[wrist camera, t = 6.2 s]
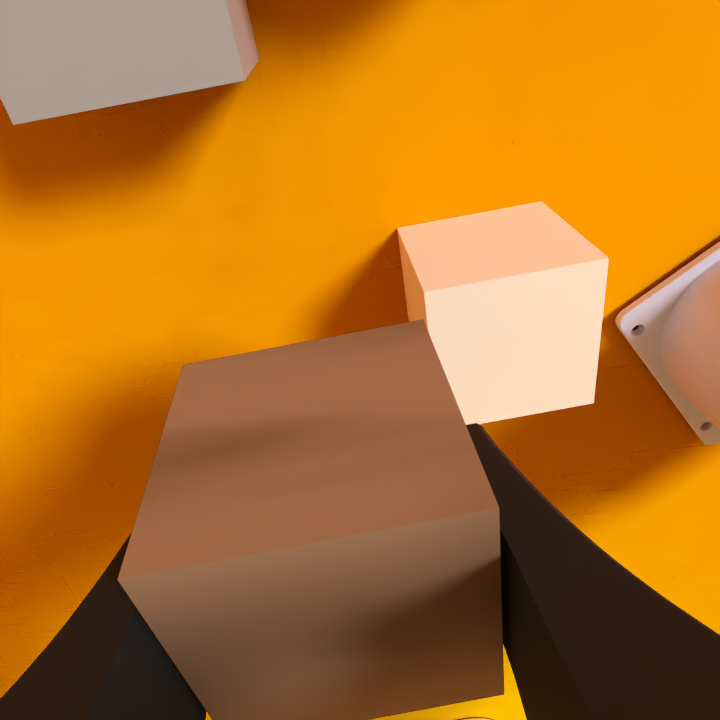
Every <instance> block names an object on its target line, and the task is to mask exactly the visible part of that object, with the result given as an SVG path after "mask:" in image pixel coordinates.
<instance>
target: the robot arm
mask: <svg viewBox="0 0 720 720" xmlns="http://www.w3.org/2000/svg"><path fill="white" fill-rule="evenodd" d="M615 324H616V326H617V328H618V329H619V330H620V332H621V333H622V334H623V336H624V337H625V338H626V340H627V341H628V342H629V344H630V345H631V346H632V348H633V349H634V351H635V352H636V353H637V355H638V356H639V357H640V359H641V360H642V361H643V363H644V364H645V365H646V367H647V368H648V370H649V371H650V372H651V374H652V375H653V376H654V378H655V379H656V380H657V382H658V383H659V384H660V386H661V387H662V388H663V390H664V391H665V393H666V394H667V395H668V397H669V398H670V399H671V401H672V402H673V403H674V405H675V406H676V407H677V409H678V410H679V412H680V413H681V414H682V416H683V417H684V418H685V420H686V421H687V422H688V424H689V425H690V426H691V428H692V429H693V430H694V432H695V433H696V435H697V436H698V437H699V439H700V440H701V441H702V442H703V443H704V444H705V445H715V444H717V443H719V442H720V241H719V242H718V243H717V244H715V245H714V246H712V247H711V248H709V249H708V250H707V251H705V252H704V253H702V254H701V255H699V256H698V257H697V258H695V259H694V260H692V261H691V262H690V263H688V264H687V265H685V266H684V267H682V268H681V269H680V270H678V271H677V272H675V273H674V274H673V275H671V276H670V277H668V278H667V279H665V280H664V281H663V282H661V283H660V284H658V285H657V286H655V287H654V288H653V289H651V290H650V291H648V292H647V293H646V294H644V295H643V296H641V297H640V298H638V299H637V300H636V301H634V302H633V303H631V304H630V305H629V306H627V307H626V308H624V309H623V310H622V311H621V312H619V313H618V315H617V317H616V319H615ZM637 325H639V327H638V328H637V329H636V330H634V331H632V329H633V328H634V327H635V326H637ZM466 427H467V429H468V432H469V434H470V436H471V439H472V441H473V444H474V446H475V449H476V451H477V454H478V456H479V459H480V461H481V464H482V466H483V469H484V471H485V474H486V476H487V479H488V481H489V484H490V486H491V489H492V491H493V494H494V496H495V498H496V501H497V503H498V506H499V518H500V556H501V594H502V633H503V645H504V647H505V650H506V653H507V656H508V659H509V661H510V664H511V667H512V670H513V673H514V676H515V680H516V683H517V687H518V690H519V694H520V697H521V701H522V704H523V708H524V711H525V715H526V718H527V720H720V635H719V634H717V633H716V632H714V631H713V630H712V629H710V628H709V627H707V626H706V625H704V624H703V623H701V622H700V621H698V620H697V619H695V618H694V617H692V616H691V615H689V614H688V613H686V612H685V611H683V610H682V609H680V608H679V607H677V606H676V605H674V604H673V603H672V602H670V601H669V600H667V599H666V598H664V597H663V596H661V595H660V594H659V593H657V592H656V591H655V590H653V589H652V588H651V587H649V586H648V585H647V584H645V583H644V582H643V581H641V580H640V579H639V578H637V577H636V576H635V575H633V574H632V573H631V572H630V571H628V570H627V569H626V568H624V567H623V566H622V565H621V564H619V563H618V562H617V561H616V560H614V559H613V558H612V557H611V556H609V555H608V554H607V553H606V552H605V551H603V550H602V549H601V548H600V547H599V546H597V545H596V544H595V543H594V542H593V541H592V540H590V539H589V538H588V537H587V536H586V535H585V534H584V533H582V532H581V531H580V530H579V529H578V528H577V527H576V526H575V525H574V524H572V523H571V522H570V521H569V520H568V519H567V518H566V517H565V516H564V515H563V514H562V513H561V512H559V511H558V510H557V509H556V508H555V507H554V506H553V505H552V504H551V503H550V502H549V501H548V500H547V499H546V498H545V497H544V496H543V495H542V494H541V493H540V492H539V491H538V490H537V489H536V488H535V487H534V486H533V485H532V484H531V483H530V482H529V481H528V480H527V479H526V478H525V476H524V475H523V474H522V473H521V472H520V471H519V470H518V469H517V468H516V467H515V466H514V464H513V463H512V462H511V461H510V460H509V459H508V458H507V457H506V455H505V454H504V453H503V452H502V451H501V450H500V448H499V447H498V446H497V445H496V444H495V442H494V441H493V440H492V439H491V437H490V436H489V435H488V434H487V432H486V431H485V430H484V428H483V427H482V426H481V425H479V424H477V423H473V424H468V425H466ZM131 534H132V533H131ZM131 534H130V535H129V537H128V538H127V540H126V541H125V543H124V544H123V546H122V547H121V549H120V550H119V551H118V553H117V554H116V556H115V557H114V559H113V560H112V562H111V563H110V564H109V566H108V567H107V569H106V570H105V572H104V573H103V574H102V576H101V577H100V579H99V580H98V581H97V583H96V584H95V585H94V587H93V588H92V589H91V591H90V592H89V593H88V595H87V596H86V597H85V599H84V600H83V601H82V603H81V604H80V605H79V607H78V608H77V609H76V611H75V612H74V613H73V614H72V616H71V617H70V618H69V620H68V621H67V622H66V624H65V625H64V626H63V627H62V629H61V630H60V631H59V632H58V634H57V635H56V636H55V637H54V639H53V640H52V641H51V642H50V643H49V645H48V646H47V647H46V648H45V649H44V651H43V652H42V653H41V654H40V655H39V656H38V658H37V659H36V660H35V661H34V662H33V663H32V664H31V666H30V667H29V668H28V669H27V670H26V671H25V672H24V674H23V675H22V676H21V677H20V678H19V679H18V680H17V682H16V683H15V684H14V685H13V686H12V687H11V688H10V689H9V690H8V691H7V692H6V694H5V695H4V696H3V697H2V698H1V699H0V720H205V718H206V709H205V708H204V707H203V705H202V704H201V702H200V701H199V699H198V698H197V696H196V695H195V693H194V692H193V690H192V689H191V687H190V686H189V684H188V683H187V681H186V680H185V679H184V677H183V676H182V674H181V673H180V671H179V670H178V668H177V667H176V665H175V664H174V662H173V661H172V659H171V658H170V656H169V655H168V653H167V652H166V651H165V649H164V648H163V646H162V645H161V643H160V642H159V640H158V639H157V637H156V636H155V634H154V633H153V631H152V630H151V628H150V627H149V625H148V624H147V623H146V621H145V620H144V618H143V617H142V615H141V614H140V612H139V611H138V609H137V608H136V606H135V605H134V603H133V602H132V600H131V599H130V597H129V596H128V595H127V593H126V592H125V590H124V589H123V587H122V586H121V584H120V583H119V581H118V580H117V579H118V576H119V573H120V570H121V566H122V563H123V560H124V556H125V553H126V550H127V547H128V543H129V540H130V537H131Z"/></svg>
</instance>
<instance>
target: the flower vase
mask: <svg viewBox="0 0 720 720" xmlns="http://www.w3.org/2000/svg"><path fill="white" fill-rule="evenodd" d="M462 720H492V719H486V718H470V719H462Z"/></svg>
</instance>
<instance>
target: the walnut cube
mask: <svg viewBox="0 0 720 720" xmlns="http://www.w3.org/2000/svg"><path fill="white" fill-rule="evenodd" d="M117 580H118V581H119V583H120V584H121V586H122V587H123V589H124V590H125V592H126V593H127V595H128V596H129V597H130V599H131V600H132V602H133V603H134V605H135V606H136V608H137V609H138V611H139V612H140V614H141V615H142V617H143V618H144V620H145V621H146V623H147V624H148V625H149V627H150V628H151V630H152V631H153V633H154V634H155V636H156V637H157V639H158V640H159V642H160V643H161V645H162V646H163V648H164V649H165V651H166V652H167V653H168V655H169V656H170V658H171V659H172V661H173V662H174V664H175V665H176V667H177V668H178V670H179V671H180V673H181V674H182V676H183V677H184V679H185V680H186V681H187V683H188V684H189V686H190V687H191V689H192V690H193V692H194V693H195V695H196V696H197V698H198V699H199V701H200V702H201V704H202V705H203V707H204V708H205V709H206V711H207V712H208V714H209V715H210V717H211V718H212V720H369V719H374V718H380V717H385V716H390V715H396V714H401V713H407V712H412V711H417V710H423V709H428V708H433V707H439V706H444V705H449V704H455V703H460V702H465V701H471V700H476V699H482V698H487V697H492V696H498V695H503V694H504V671H503V633H502V594H501V556H500V518H499V506H498V503H497V501H496V498H495V496H494V494H493V491H492V489H491V486H490V484H489V481H488V479H487V476H486V474H485V471H484V469H483V466H482V464H481V461H480V459H479V456H478V454H477V451H476V449H475V446H474V444H473V441H472V439H471V436H470V434H469V432H468V429H467V427H466V424H465V422H464V419H463V417H462V414H461V412H460V409H459V407H458V404H457V402H456V399H455V397H454V394H453V392H452V389H451V387H450V384H449V382H448V379H447V377H446V375H445V372H444V370H443V367H442V365H441V362H440V360H439V357H438V355H437V352H436V350H435V347H434V345H433V342H432V340H431V337H430V335H429V332H428V330H427V327H426V325H425V322H424V320H423V319H422V320H417V321H411V322H406V323H401V324H396V325H390V326H385V327H380V328H374V329H369V330H364V331H359V332H353V333H348V334H343V335H338V336H332V337H327V338H322V339H317V340H311V341H306V342H301V343H296V344H290V345H285V346H280V347H275V348H269V349H264V350H259V351H254V352H248V353H243V354H238V355H233V356H227V357H222V358H217V359H212V360H206V361H201V362H196V363H191V364H185V365H183V367H182V370H181V373H180V377H179V380H178V383H177V386H176V390H175V393H174V396H173V400H172V403H171V406H170V409H169V413H168V416H167V419H166V422H165V426H164V429H163V432H162V435H161V439H160V442H159V445H158V449H157V452H156V455H155V458H154V462H153V465H152V468H151V471H150V475H149V478H148V481H147V485H146V488H145V491H144V494H143V498H142V501H141V504H140V507H139V511H138V514H137V517H136V520H135V524H134V527H133V530H132V534H131V537H130V540H129V543H128V547H127V550H126V553H125V556H124V560H123V563H122V566H121V570H120V573H119V576H118V579H117Z"/></svg>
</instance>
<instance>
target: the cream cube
mask: <svg viewBox="0 0 720 720" xmlns="http://www.w3.org/2000/svg"><path fill="white" fill-rule="evenodd" d="M397 232H398V240H399V248H400V256H401V264H402V272H403V280H404V288H405V296H406V304H407V312H408V320H409V322H411V321H417V320H422V319H423V320H424V322H425V325H426V327H427V330H428V332H429V335H430V337H431V340H432V342H433V345H434V347H435V350H436V352H437V355H438V357H439V360H440V362H441V365H442V367H443V370H444V372H445V375H446V377H447V379H448V382H449V384H450V387H451V389H452V392H453V394H454V397H455V399H456V402H457V404H458V407H459V409H460V412H461V414H462V417H463V419H464V422H465V424H466V425H468V424H473V423H477V424H482V423H488V422H493V421H499V420H504V419H510V418H515V417H521V416H526V415H532V414H537V413H543V412H548V411H554V410H559V409H565V408H570V407H576V406H582V405H587V404H593V403H594V396H595V387H596V377H597V368H598V358H599V348H600V339H601V329H602V320H603V310H604V301H605V291H606V281H607V272H608V262H609V258H608V257H607V256H606V255H605V254H603V253H602V252H601V251H600V250H599V249H597V248H596V247H595V246H594V245H593V244H591V243H590V242H589V241H588V240H587V239H586V238H584V237H583V236H582V235H581V234H580V233H578V232H577V231H576V230H575V229H574V228H572V227H571V226H570V225H569V224H568V223H567V222H565V221H564V220H563V219H562V218H561V217H559V216H558V215H557V214H556V213H555V212H553V211H552V210H551V209H550V208H549V207H548V206H546V205H545V204H544V203H543V202H542V201H541V202H535V203H530V204H524V205H519V206H514V207H508V208H503V209H498V210H492V211H487V212H481V213H476V214H471V215H465V216H460V217H455V218H449V219H444V220H438V221H433V222H428V223H422V224H417V225H412V226H406V227H401V228H397Z"/></svg>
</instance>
